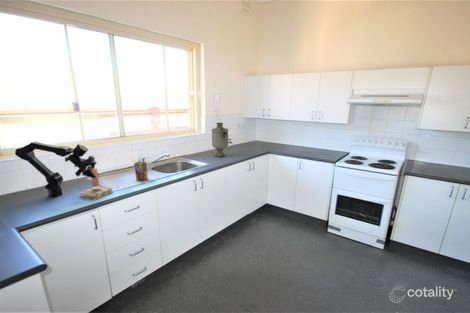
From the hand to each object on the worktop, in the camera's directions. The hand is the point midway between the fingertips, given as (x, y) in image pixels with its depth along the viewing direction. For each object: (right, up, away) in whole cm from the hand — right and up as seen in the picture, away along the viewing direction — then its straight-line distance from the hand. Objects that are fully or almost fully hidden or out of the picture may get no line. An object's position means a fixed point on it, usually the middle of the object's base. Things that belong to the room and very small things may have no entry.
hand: (96, 176), depth 161 cm
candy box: (+18, -6, +34) cm, 39 cm away
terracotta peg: (-2, -6, +2) cm, 7 cm away
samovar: (+81, +14, +118) cm, 144 cm away
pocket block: (-2, -13, +3) cm, 13 cm away
